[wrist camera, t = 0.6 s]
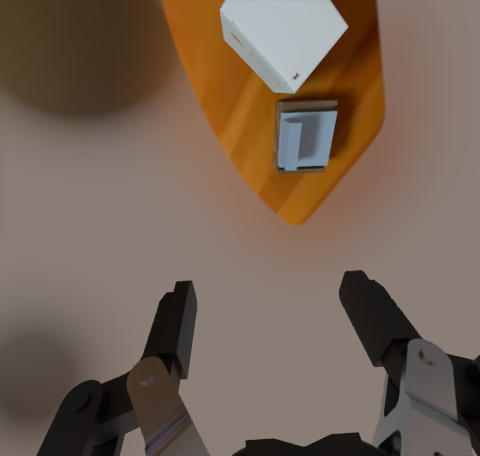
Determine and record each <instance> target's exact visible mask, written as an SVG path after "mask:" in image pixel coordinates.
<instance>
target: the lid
mask: <svg viewBox="0 0 480 456" xmlns="http://www.w3.org/2000/svg"><path fill="white" fill-rule="evenodd" d="M336 116H337V111H334V110H325V111H298V112H281V120H280V135H279V151H278V165H279V167H284V169H285V170H286V171H292V170H297V167H300V166H323V165H327V164H328V159H329V154H330V148H331V143H332V138H333V132H334V127H335V122H336Z"/></svg>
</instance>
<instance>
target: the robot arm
mask: <svg viewBox="0 0 480 456" xmlns="http://www.w3.org/2000/svg"><path fill="white" fill-rule="evenodd" d="M339 297H340V301H341V303H342V305H343V307H344V309H345V311H346V313H347V315H348V317H349V319H350V321H351V323H352V325H353V327H354V329H355V331H356V333H357V335H358V337H359V338H360V341H361V343H362V345H363V347H364V348H365V350H366V352H367V354H368V356H369V358H370V360H371V362H372V364H373V366H374V367H384V368H385V370H386V372H387V373H386V375H385V381H384V389H383V396H382V404H381V412H380V418H379V422H378V425H377V427H376V430H375V433H374V437H373V443H372V445H371V444H369V443H367V442H364V441H362V440H361V438H360V435H359V433H358V432H357V433H343V434H331V435H329V436H326V437H324V438H322V439H320V440H319V441H316V442H314V443H312V444H310V445H308V446H305V447H303V446H298V445H294V444H291V443H288V442H284V441H281V440H277V439H259V440H246V447H245V448H243V449H241V450H239V451H238V452H236V453H235V454H233V455H232V456H472V448H471V446H472V447H473V449H474V451H475V452H476V454H477V456H480V355H479V356H478V357H477V358H476V359H474V360H471V359H467V358H463V357H458V356H454V355H450V354H446V353H445V352H444V351H443V350H442V349H441V348H439V347H438V346H437V345H435V344H433V343H431V342H429V341H427V340H424V339H422V337H421V336H420V335H419V334H418V332H417V331H416V330H415V328H414V327H413V326H412V324H411V323H410V322H409V320H408V319H407V318H406V316H405V315H404V314H403V312H402V311H401V310H400V308H399V307H398V306H397V304H396V303H395V302H394V300H393V299H391V297H390V295H389V294H388V292H387V291H386V290H385V288H384V287H383V286H381V285H380V284H379V283H377V282H376V281H375V280H369V278H368V277H367V275H366V274H365V273H364V272H363V271H362V270H356V271H346V272H345V273H344V276H343V280H342V283H341V286H340V289H339ZM196 313H197V299H196V295H195V291H194V287H193V283H192V281H177V282H176V284H175V288H174V292H169V293H166V294H165V295H164V296H163V298H162V299H161V300H160V302H159V305H158V309H157V313H156V315H155V318H154V322H153V325H152V328H151V331H150V334H149V337H148V341H147V344H146V347H145V350H144V353H143V356H142V358H141V359H140V361H139V362H138V363H137V364H136V365H135V366H134V367H133V368H132V369H131V370H130V371H129V372H127V373H126V374H124V375H122V376H120V377H117V378H115V379H112V380H110V381H108V382H105V383H103V384H101V383H100V382H98V381H96V380H88V381H85V382H82V383H80V384H79V385H77V386H76V387H74V388H73V389H72V390H71V391H70V392H69V393H68V394H67V396H66V397H65V398H64V400H63V401H62V403H61V405H60V407H59V409H58V411H57V413H56V415H55V418H54V420H53V422H52V424H51V426H50V428H49V430H48V432H47V435H46V437H45V439H44V441H43V443H42V445H41V448H40V449H39V452H38V454H37V456H119V455H120V452H121V448H122V444H123V440H124V436H125V434H126V433H128V432H130V431H132V430H134V429H136V428H138V427H140V428H141V432H142V435H143V438H144V441H145V445H146V447H145V454H146V456H210V455H209V453H208V451H207V449H206V447H205V445H204V443H203V441H202V439H201V437H200V435H199V433H198V431H197V429H196V427H195V425H194V423H193V421H192V419H191V417H190V415H189V413H188V411H187V409H186V407H185V405H184V403H183V401H182V399H181V397H180V395H179V393H178V391H179V384H180V379H187V376H188V370H189V363H190V355H191V348H192V341H193V334H194V327H195V319H196Z"/></svg>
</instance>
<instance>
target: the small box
mask: <svg viewBox="0 0 480 456" xmlns="http://www.w3.org/2000/svg"><path fill="white" fill-rule="evenodd" d="M220 14H221V21H222V28H223V35H224V40H225V41H226V42H227V43H228V44H229V45H230V46H231V47H232V48H233V49H234V50H235V51H236V52H237V53H238V55H239V56H240V57H241V58H242V59H243V60H244V61H245V62H246V63H247V64H248V65H249V66H250V67H251V68H252V69H253V70H254V71H255V72H256V74H257V75H258V76H259V77H260V78H261V79H262V80H263V81H264V82H265V83H266V84H267V85H268V86H269V87H270V88H271V90H272V91H273V92H277V93H293V94H294V93H296V91H297V90H298V89H299V88H300V86H301V85H302V84H303V83H304V82H305V80H306V79H307V78H308V77H309V75H310V74H311V73H312V72H313V70H314V69H315V68H316V67H317V65H318V64H319V63H320V62H321V60H322V59H323V58H324V57H325V56H326V54H327V53H328V52H329V51H330V49H331V48H332V47H333V46H334V45H335V43H336V42H337V41H338V40H339V38H340V37H341V36H342V35H343V33H344V32H345V31H346V30H347V28H348V24H347V23H346V21H345V20H344V19H343V17H342V16H341V14H340V12H339V11H338V10H337V8H336V7H335V5H334V4H333V2H332V1H331V0H225V2H224V3H223V5H222V7H221V9H220Z"/></svg>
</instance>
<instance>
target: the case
mask: <svg viewBox="0 0 480 456" xmlns="http://www.w3.org/2000/svg"><path fill="white" fill-rule="evenodd" d="M337 103H338V101H337V100H328V99H312V100H285V101H276V118H275V136H274V155H273V165H274V167H275V169H276V170H277V172H278V174H292V173H315V172H325V168H324V167H323V166H300V167H297V170H292V171H286V170H285V169H284V167H279V165H278V151H279V135H280V120H281V112H298V111H325V110H333V106H337Z"/></svg>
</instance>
